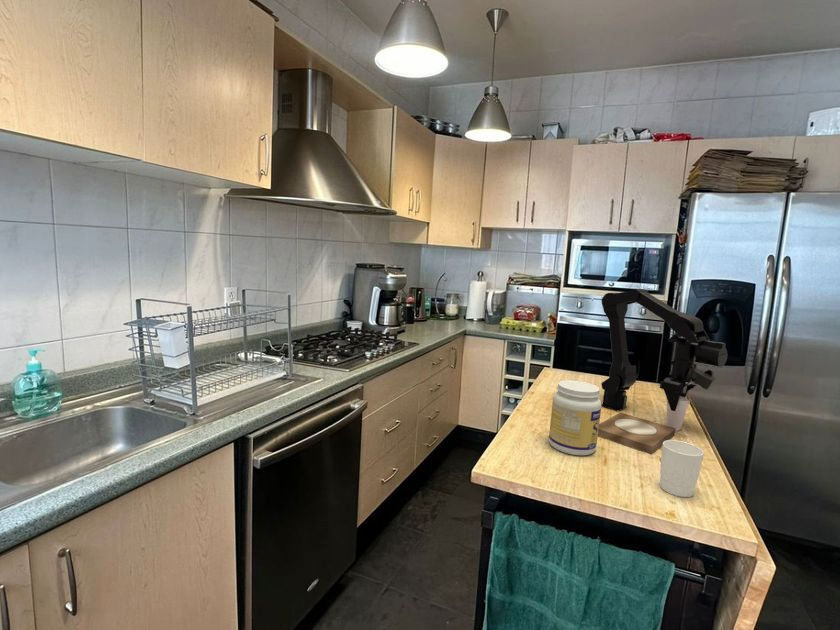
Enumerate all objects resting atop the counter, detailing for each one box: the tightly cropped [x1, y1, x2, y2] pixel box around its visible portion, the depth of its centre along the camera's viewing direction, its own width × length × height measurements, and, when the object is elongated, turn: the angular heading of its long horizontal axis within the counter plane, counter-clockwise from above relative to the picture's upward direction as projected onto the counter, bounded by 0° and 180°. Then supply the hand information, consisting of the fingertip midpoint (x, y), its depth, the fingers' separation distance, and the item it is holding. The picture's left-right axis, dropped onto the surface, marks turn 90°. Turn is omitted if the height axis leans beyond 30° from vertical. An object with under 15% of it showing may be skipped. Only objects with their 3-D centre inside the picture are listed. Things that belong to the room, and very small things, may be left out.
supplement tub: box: [548, 379, 602, 456], centre depth 119 cm, size 12×12×17 cm
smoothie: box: [665, 396, 690, 432], centre depth 138 cm, size 6×6×14 cm
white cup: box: [659, 439, 705, 498], centre depth 101 cm, size 8×8×10 cm
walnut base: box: [598, 411, 676, 455], centre depth 131 cm, size 16×20×3 cm
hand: (676, 408), depth 138 cm, fingers closed on smoothie, 6 cm apart
